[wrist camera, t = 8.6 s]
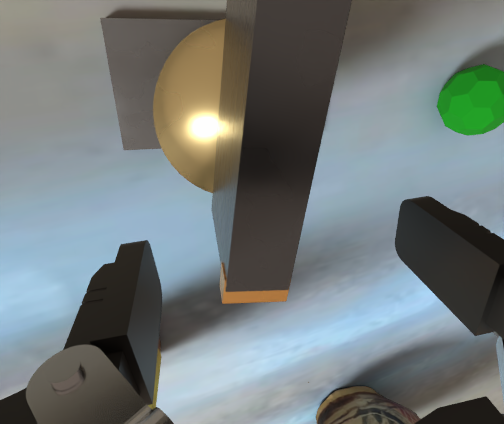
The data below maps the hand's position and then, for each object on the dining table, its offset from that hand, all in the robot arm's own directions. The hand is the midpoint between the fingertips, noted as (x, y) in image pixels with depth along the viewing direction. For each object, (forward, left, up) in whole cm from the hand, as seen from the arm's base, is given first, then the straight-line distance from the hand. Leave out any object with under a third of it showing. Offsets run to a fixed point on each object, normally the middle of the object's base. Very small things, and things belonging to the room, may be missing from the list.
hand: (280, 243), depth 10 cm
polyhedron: (-19, -2, -17) cm, 25 cm away
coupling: (0, -2, -9) cm, 9 cm away
